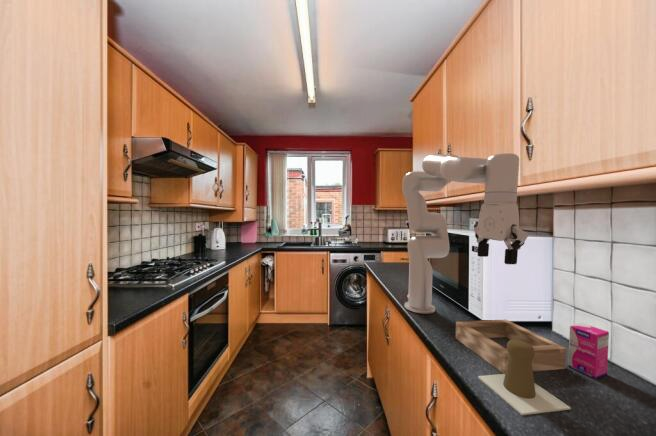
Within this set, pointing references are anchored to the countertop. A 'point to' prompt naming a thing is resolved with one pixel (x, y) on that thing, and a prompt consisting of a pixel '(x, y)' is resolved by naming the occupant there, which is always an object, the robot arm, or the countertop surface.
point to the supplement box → (588, 350)
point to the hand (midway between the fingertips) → (495, 259)
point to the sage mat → (524, 405)
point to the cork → (520, 369)
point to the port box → (480, 332)
